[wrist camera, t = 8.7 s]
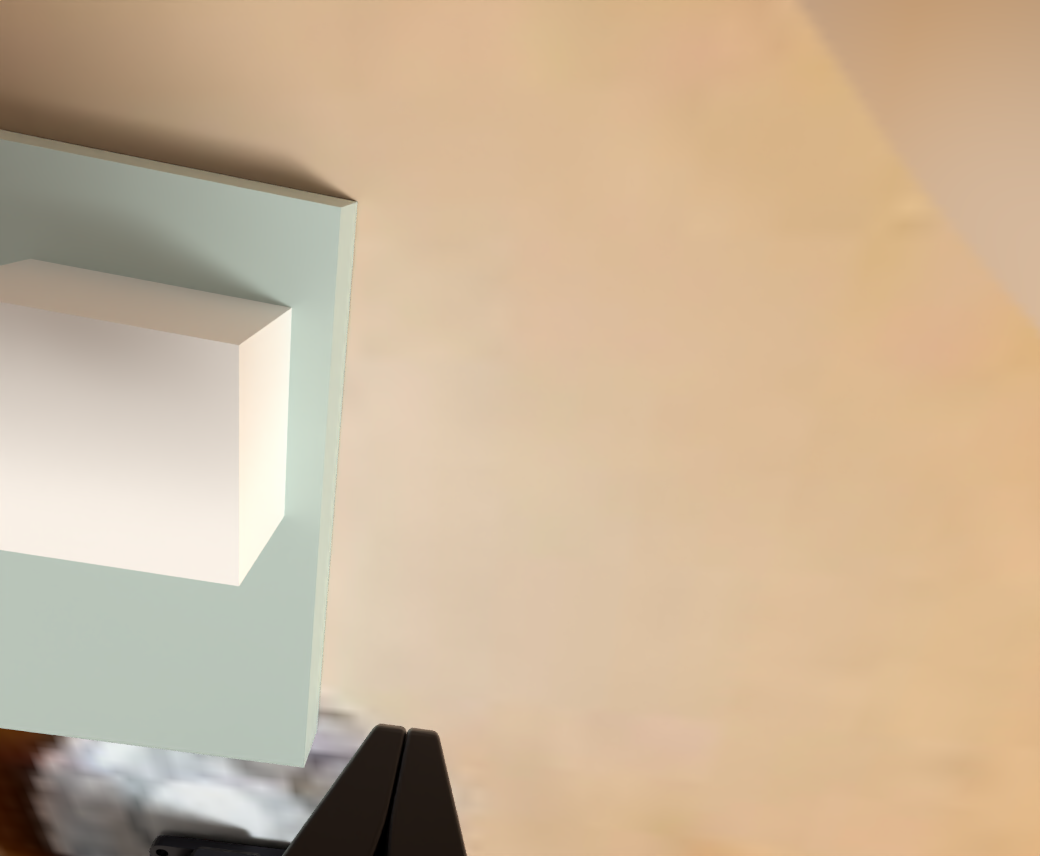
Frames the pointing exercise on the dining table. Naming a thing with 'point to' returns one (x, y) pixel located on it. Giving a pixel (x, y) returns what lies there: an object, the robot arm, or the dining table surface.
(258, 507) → the tile
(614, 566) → the dining table surface
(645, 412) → the dining table surface
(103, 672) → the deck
